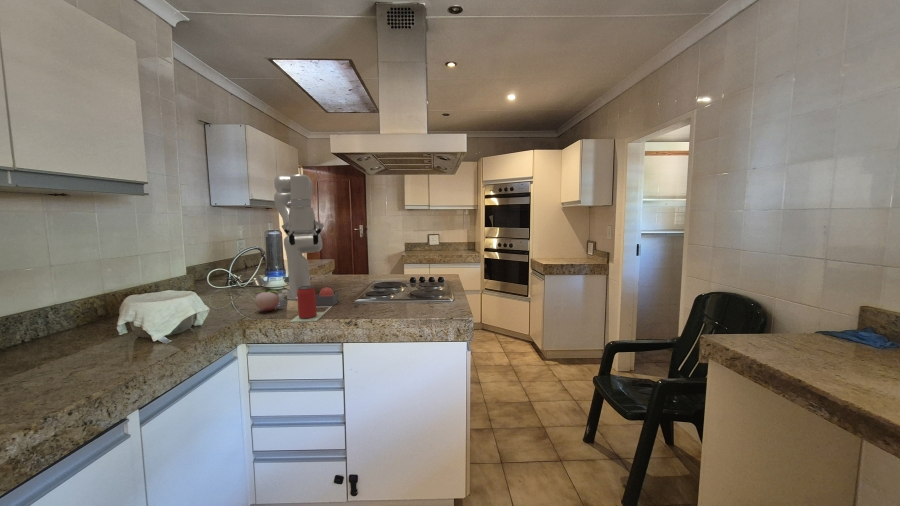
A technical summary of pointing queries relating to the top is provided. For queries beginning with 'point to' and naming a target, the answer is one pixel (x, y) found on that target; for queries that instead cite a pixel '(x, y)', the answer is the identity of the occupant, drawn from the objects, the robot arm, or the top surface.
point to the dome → (326, 292)
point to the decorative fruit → (267, 300)
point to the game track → (320, 301)
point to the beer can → (306, 302)
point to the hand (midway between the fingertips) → (304, 244)
